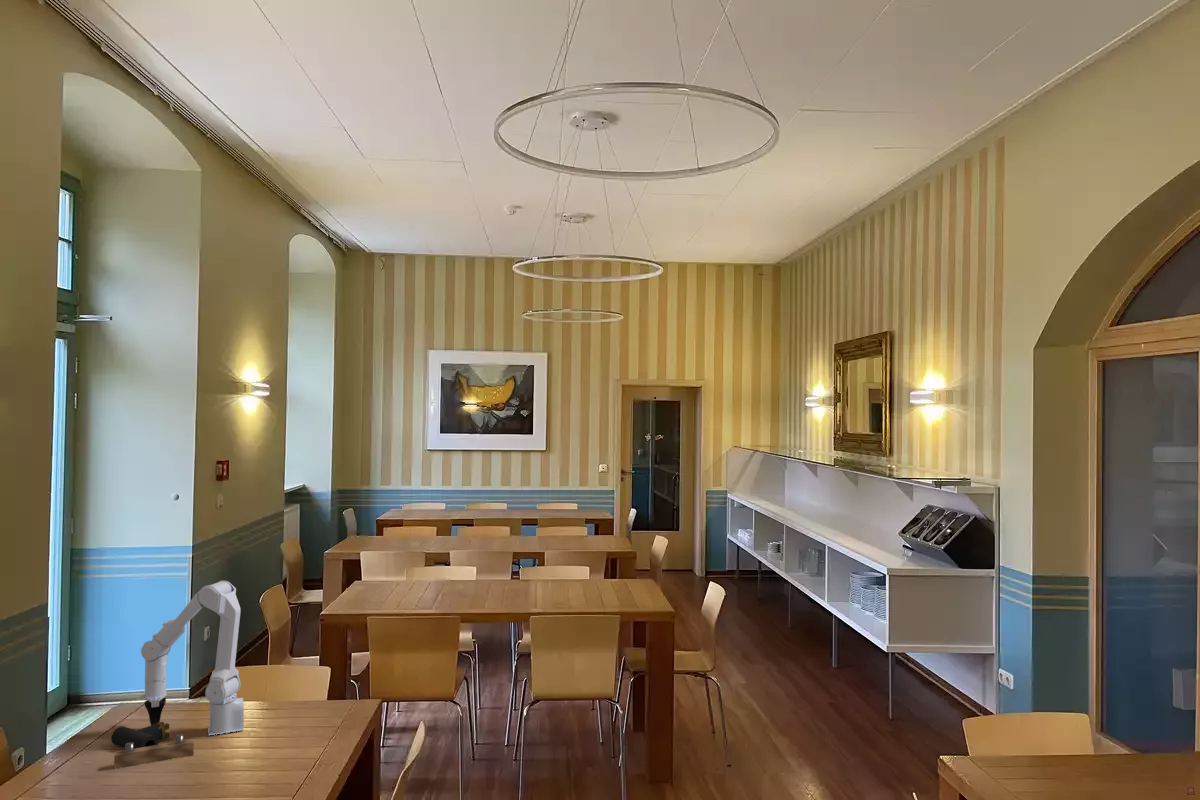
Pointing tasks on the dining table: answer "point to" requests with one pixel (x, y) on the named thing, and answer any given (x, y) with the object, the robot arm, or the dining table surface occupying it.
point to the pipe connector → (141, 735)
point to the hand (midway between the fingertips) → (154, 724)
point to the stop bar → (153, 752)
